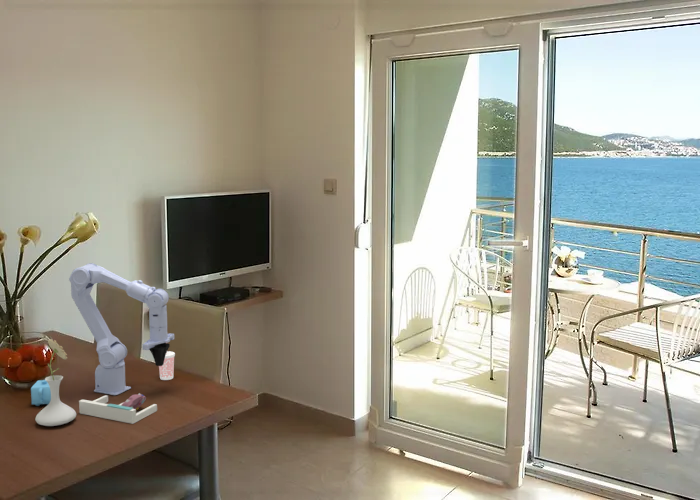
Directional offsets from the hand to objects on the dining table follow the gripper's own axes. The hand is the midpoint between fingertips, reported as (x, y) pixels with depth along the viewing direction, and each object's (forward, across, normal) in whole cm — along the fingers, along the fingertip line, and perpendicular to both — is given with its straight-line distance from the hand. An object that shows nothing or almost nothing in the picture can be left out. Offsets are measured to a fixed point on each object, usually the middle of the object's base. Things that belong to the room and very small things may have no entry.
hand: (159, 365), depth 233 cm
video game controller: (+10, -18, -3) cm, 21 cm away
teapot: (+10, -22, +28) cm, 37 cm away
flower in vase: (+10, -33, +13) cm, 37 cm away
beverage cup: (+10, +13, +7) cm, 18 cm away
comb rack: (+9, -19, +1) cm, 21 cm away
